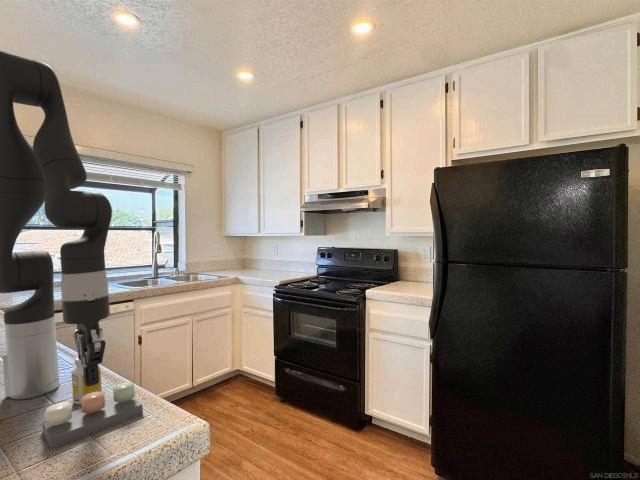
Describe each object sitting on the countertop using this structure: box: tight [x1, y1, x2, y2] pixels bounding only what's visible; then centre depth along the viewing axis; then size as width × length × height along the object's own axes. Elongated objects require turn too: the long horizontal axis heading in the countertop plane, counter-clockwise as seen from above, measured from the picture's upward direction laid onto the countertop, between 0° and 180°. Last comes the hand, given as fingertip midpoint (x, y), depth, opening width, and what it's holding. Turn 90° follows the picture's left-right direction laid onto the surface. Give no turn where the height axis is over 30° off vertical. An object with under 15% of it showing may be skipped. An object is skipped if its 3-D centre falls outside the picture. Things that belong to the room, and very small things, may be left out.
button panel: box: [41, 396, 144, 450], centre depth 69 cm, size 15×8×2 cm, turn 136°
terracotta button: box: [81, 391, 106, 413], centre depth 69 cm, size 4×4×2 cm
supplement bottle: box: [71, 356, 103, 405], centre depth 79 cm, size 5×5×10 cm
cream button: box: [45, 401, 73, 426], centre depth 65 cm, size 4×4×2 cm
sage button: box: [112, 381, 136, 402], centre depth 73 cm, size 4×4×2 cm
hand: (91, 384), depth 69 cm, fingers closed
